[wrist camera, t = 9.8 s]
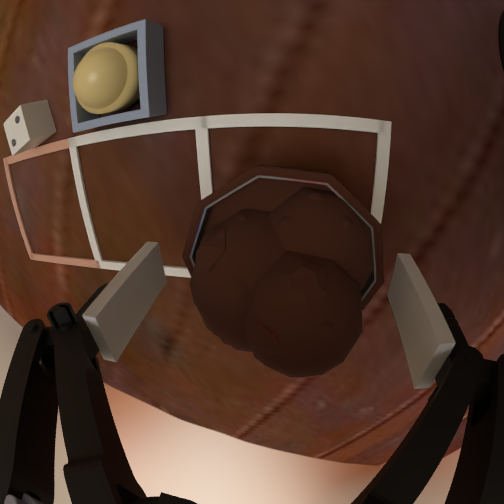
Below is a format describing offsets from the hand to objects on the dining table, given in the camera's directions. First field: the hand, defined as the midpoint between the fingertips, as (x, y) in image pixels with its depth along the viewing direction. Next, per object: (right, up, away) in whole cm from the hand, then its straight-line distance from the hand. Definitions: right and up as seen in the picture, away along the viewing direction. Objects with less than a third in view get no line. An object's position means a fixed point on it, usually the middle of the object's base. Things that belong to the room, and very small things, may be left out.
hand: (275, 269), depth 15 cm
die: (-24, +15, +7) cm, 29 cm away
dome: (-12, +16, +4) cm, 20 cm away
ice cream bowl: (+2, +5, +8) cm, 10 cm away
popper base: (-12, +16, +4) cm, 20 cm away
